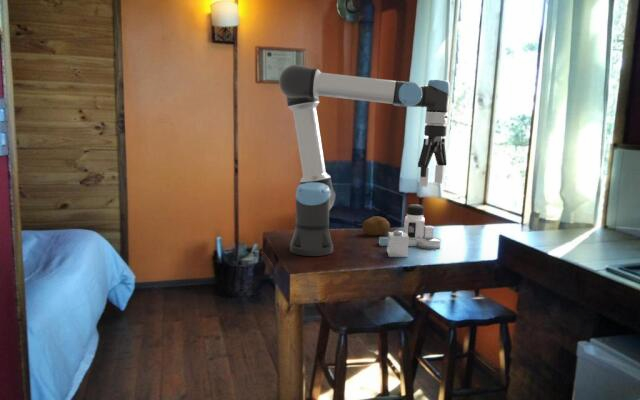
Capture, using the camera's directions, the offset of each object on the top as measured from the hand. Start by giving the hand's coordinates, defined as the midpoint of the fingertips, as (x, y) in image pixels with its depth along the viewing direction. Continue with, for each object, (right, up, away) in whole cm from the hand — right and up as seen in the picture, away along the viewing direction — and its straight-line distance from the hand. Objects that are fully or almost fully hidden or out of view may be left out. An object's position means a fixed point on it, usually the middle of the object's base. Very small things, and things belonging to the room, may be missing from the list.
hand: (430, 184), depth 186 cm
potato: (-17, -20, +24) cm, 35 cm away
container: (-2, -21, +21) cm, 30 cm away
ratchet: (-6, -23, +7) cm, 25 cm away
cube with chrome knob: (-13, -25, -5) cm, 28 cm away
